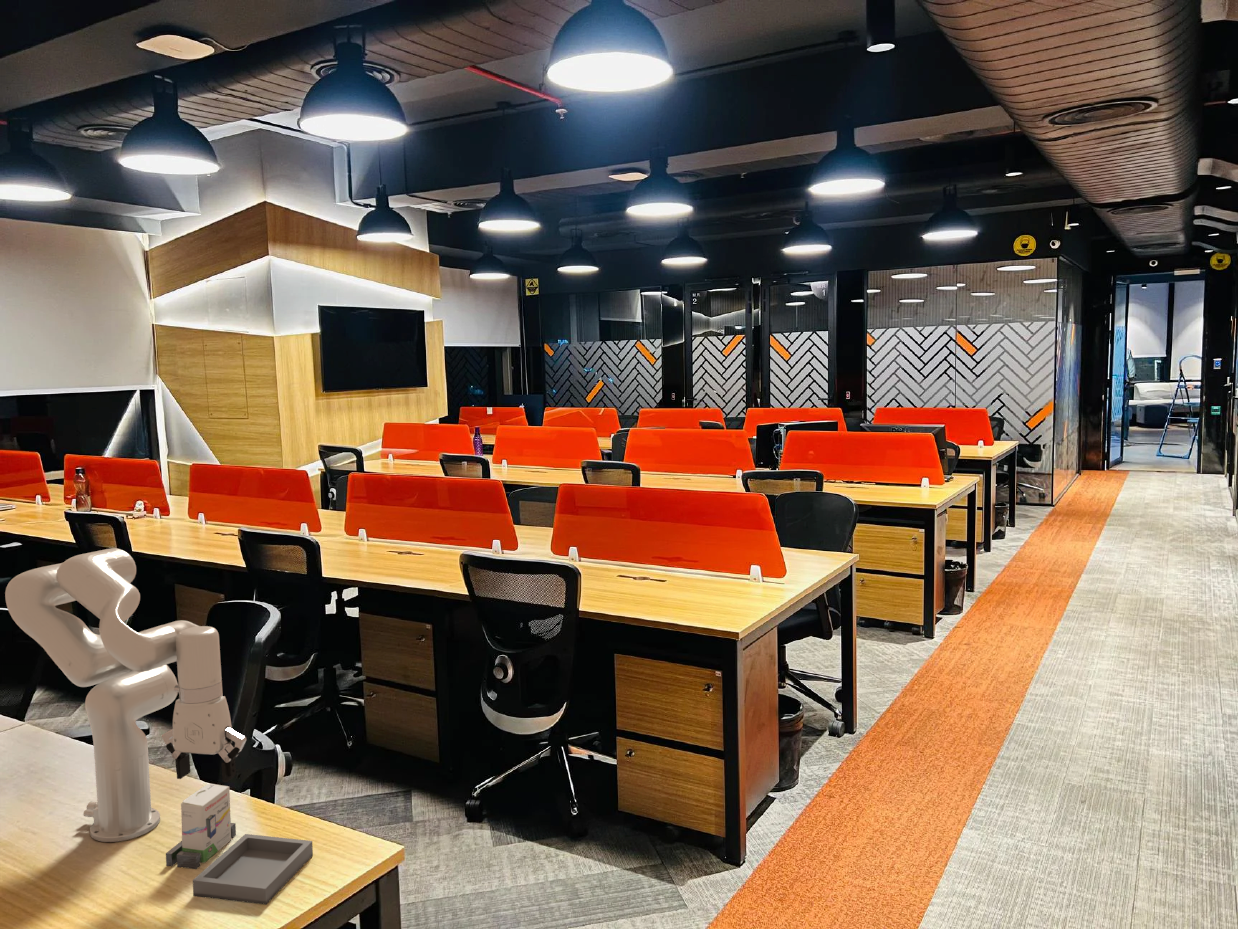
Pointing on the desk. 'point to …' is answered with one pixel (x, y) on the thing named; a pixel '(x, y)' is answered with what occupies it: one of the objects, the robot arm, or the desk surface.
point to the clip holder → (187, 855)
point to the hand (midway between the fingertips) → (206, 777)
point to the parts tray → (253, 869)
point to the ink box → (206, 821)
